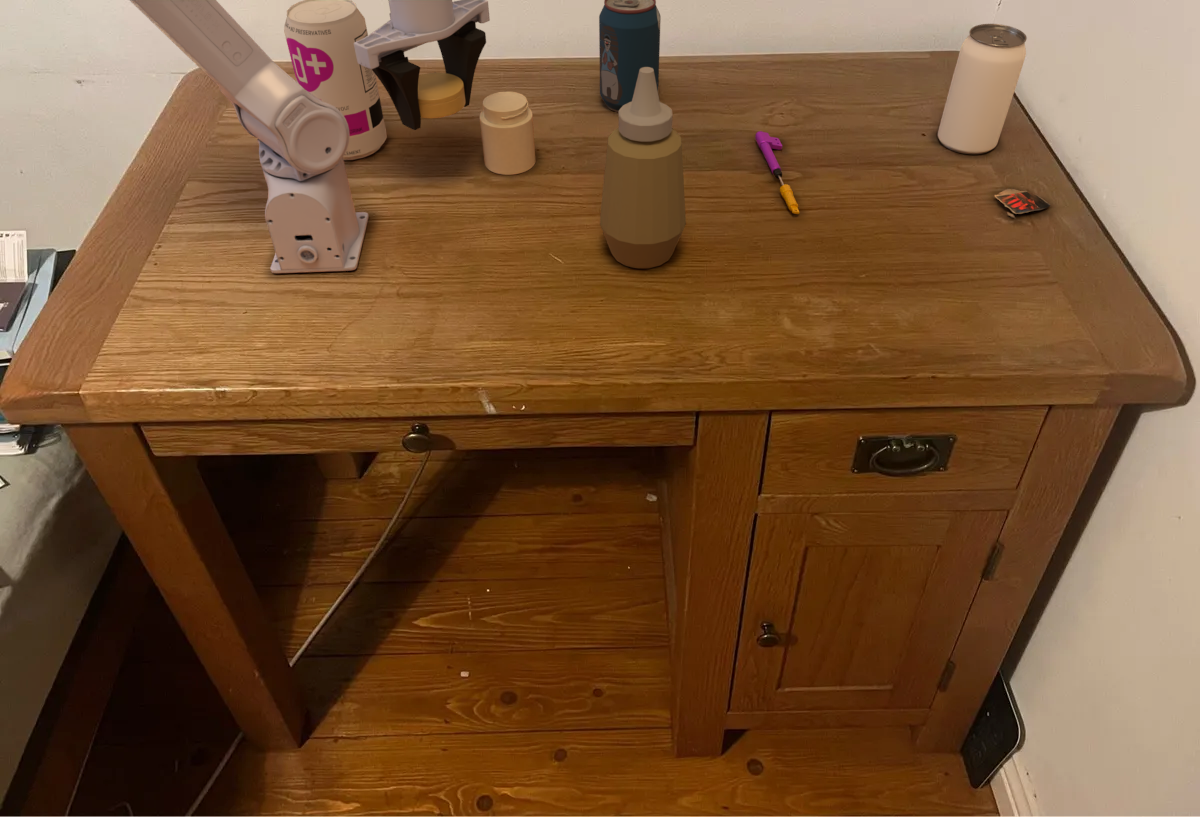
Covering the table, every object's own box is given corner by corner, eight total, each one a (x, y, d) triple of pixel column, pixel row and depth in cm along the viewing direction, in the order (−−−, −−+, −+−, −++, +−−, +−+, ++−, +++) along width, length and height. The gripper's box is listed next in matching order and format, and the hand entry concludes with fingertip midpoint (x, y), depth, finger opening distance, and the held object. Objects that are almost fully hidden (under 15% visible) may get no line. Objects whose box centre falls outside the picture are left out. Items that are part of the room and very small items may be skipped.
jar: (535, 174, 98) (531, 113, 93) (483, 176, 98) (476, 114, 93) (535, 148, 102) (531, 88, 97) (485, 150, 102) (478, 90, 97)
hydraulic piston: (752, 138, 103) (788, 217, 92) (756, 128, 102) (793, 207, 91) (774, 141, 103) (812, 220, 92) (778, 132, 103) (817, 210, 91)
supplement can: (348, 170, 99) (317, 32, 89) (299, 148, 103) (263, 13, 92) (403, 141, 104) (379, 6, 93) (353, 120, 107) (325, -12, 97)
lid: (408, 91, 92) (405, 73, 91) (467, 89, 92) (465, 71, 91) (401, 119, 88) (398, 100, 87) (463, 117, 88) (461, 98, 87)
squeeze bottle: (677, 282, 84) (689, 96, 72) (592, 272, 85) (588, 88, 73) (689, 233, 90) (701, 53, 77) (608, 224, 91) (607, 46, 78)
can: (990, 128, 104) (1023, 22, 96) (1002, 157, 100) (1038, 48, 91) (932, 126, 105) (960, 20, 96) (941, 154, 100) (971, 46, 92)
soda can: (662, 92, 112) (666, -9, 103) (651, 119, 107) (654, 15, 98) (607, 87, 113) (607, -14, 104) (593, 112, 108) (591, 9, 100)
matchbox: (1053, 206, 92) (1055, 202, 92) (1019, 222, 90) (1021, 218, 90) (1015, 186, 95) (1017, 182, 95) (982, 201, 93) (983, 197, 93)
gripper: (448, -60, 87) (464, 77, 97) (321, -18, 80) (352, 127, 89) (499, -43, 84) (510, 98, 93) (372, 3, 76) (398, 151, 86)
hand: (436, 114), depth 91 cm, fingers closed on lid, 6 cm apart
